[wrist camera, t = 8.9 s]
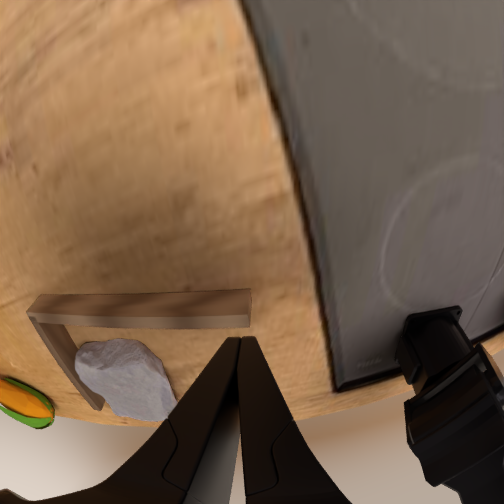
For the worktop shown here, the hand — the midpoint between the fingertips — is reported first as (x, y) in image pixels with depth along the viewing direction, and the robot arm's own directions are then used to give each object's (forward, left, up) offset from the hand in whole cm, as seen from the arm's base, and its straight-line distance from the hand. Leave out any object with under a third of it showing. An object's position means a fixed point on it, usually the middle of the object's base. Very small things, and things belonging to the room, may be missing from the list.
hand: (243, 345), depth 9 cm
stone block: (+15, +18, -12) cm, 26 cm away
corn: (+46, +28, -12) cm, 56 cm away
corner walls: (+12, +15, -12) cm, 22 cm away
